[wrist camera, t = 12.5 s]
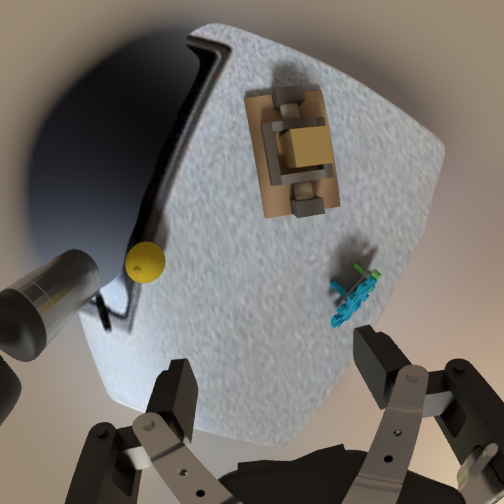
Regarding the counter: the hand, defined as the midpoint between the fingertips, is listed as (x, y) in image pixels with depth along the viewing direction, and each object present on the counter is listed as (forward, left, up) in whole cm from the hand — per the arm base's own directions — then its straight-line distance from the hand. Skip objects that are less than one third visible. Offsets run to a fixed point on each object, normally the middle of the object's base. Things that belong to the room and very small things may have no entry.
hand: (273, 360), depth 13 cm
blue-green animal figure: (+14, -13, -30) cm, 36 cm away
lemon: (-15, -1, -30) cm, 34 cm away
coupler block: (+8, +10, -28) cm, 31 cm away
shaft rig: (+8, +10, -30) cm, 33 cm away
